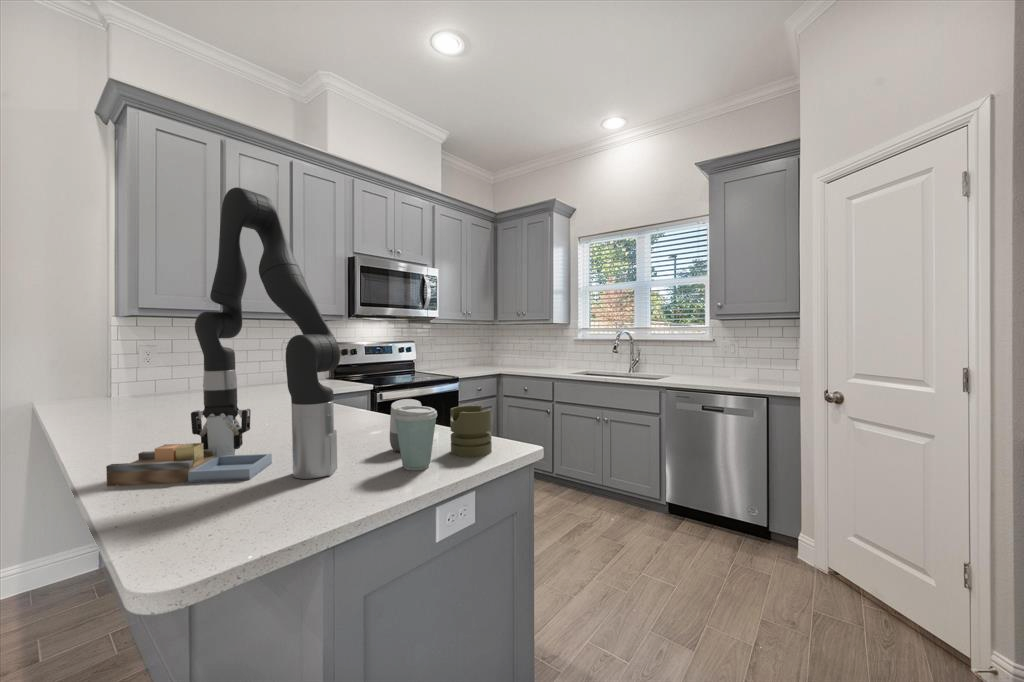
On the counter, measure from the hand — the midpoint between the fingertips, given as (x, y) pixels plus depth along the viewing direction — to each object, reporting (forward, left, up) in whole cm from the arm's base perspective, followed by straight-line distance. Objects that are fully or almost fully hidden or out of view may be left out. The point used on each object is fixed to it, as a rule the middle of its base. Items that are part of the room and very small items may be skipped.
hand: (222, 449), depth 121 cm
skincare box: (0, 0, -3) cm, 3 cm away
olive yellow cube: (+1, +12, 0) cm, 12 cm away
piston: (-66, +3, -3) cm, 66 cm away
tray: (-8, +12, -3) cm, 15 cm away
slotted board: (+7, +12, -3) cm, 14 cm away
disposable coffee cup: (-52, +15, -3) cm, 54 cm away
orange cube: (+6, +12, 0) cm, 13 cm away
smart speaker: (-48, -2, -3) cm, 48 cm away
